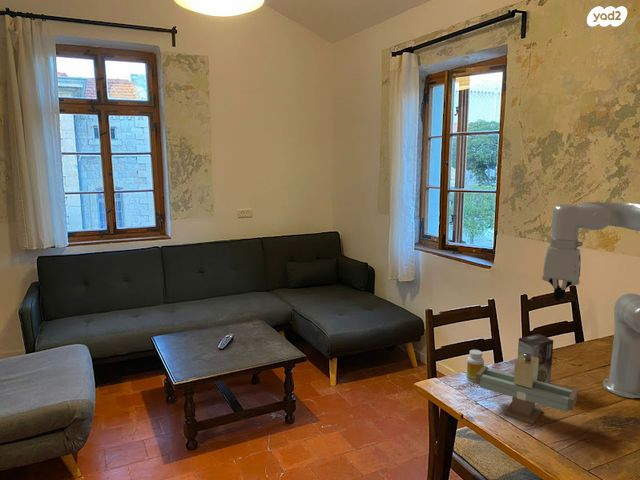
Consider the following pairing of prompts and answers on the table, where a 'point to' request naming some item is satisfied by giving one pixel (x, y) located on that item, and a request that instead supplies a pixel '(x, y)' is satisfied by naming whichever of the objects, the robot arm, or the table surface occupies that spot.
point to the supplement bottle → (474, 364)
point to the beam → (526, 394)
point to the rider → (526, 370)
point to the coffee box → (538, 354)
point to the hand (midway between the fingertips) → (558, 300)
